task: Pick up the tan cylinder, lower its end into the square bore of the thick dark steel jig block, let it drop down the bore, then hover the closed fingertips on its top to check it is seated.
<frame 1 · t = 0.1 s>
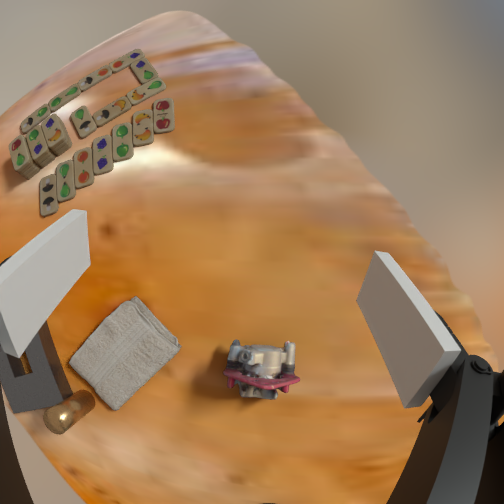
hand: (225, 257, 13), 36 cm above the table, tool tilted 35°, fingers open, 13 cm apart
washcloth: (125, 354, 46), on the table
pile of dominoes: (91, 124, 51), on the table
jig: (29, 358, 42), on the table
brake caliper: (258, 366, 47), on the table
tan cylinder: (85, 400, 43), on the table
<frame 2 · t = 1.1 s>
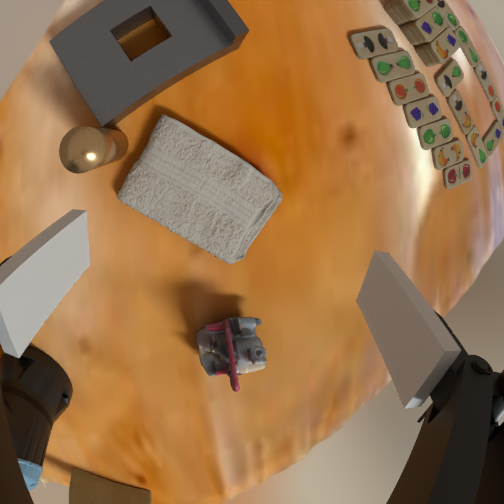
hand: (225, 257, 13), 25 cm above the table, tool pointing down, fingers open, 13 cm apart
washcloth: (200, 190, 37), on the table
pile of dominoes: (446, 86, 38), on the table
jig: (144, 42, 28), on the table
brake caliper: (228, 336, 45), on the table
tan cylinder: (112, 145, 32), on the table
cheese: (109, 482, 57), on the table
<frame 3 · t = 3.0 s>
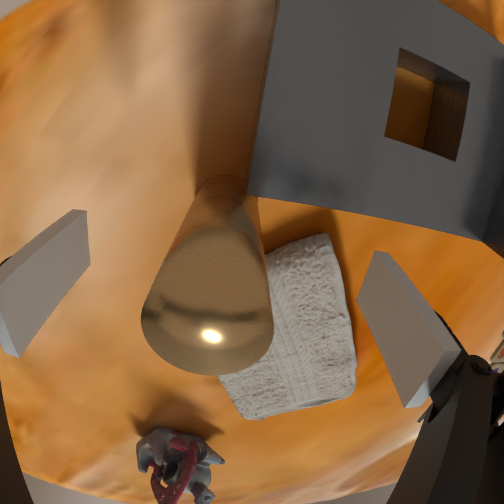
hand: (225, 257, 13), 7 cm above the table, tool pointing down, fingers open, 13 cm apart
washcloth: (277, 336, 26), on the table
jig: (399, 104, 17), on the table
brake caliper: (178, 441, 33), on the table
tan cylinder: (226, 205, 20), on the table
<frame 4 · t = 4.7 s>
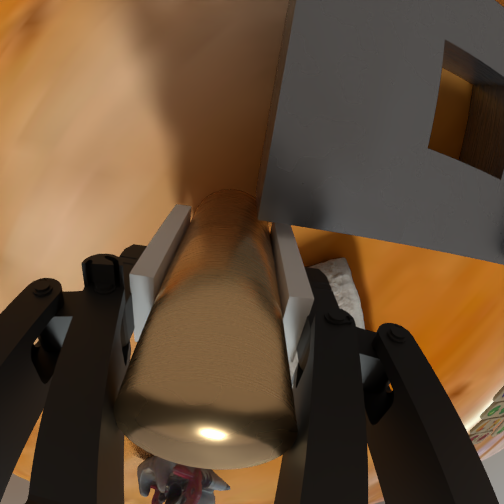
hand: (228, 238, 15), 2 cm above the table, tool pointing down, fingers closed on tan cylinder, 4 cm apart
washcloth: (287, 367, 22), on the table
jig: (435, 107, 13), on the table
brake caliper: (181, 464, 31), on the table
tan cylinder: (230, 225, 16), on the table, touching gripper
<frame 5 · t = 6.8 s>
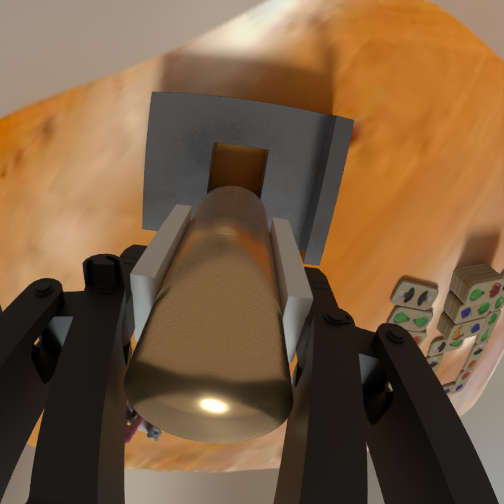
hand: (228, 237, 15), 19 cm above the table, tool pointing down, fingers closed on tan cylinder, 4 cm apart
pile of dominoes: (438, 346, 46), on the table
jig: (238, 165, 32), on the table
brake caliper: (142, 394, 49), on the table
tan cylinder: (231, 220, 17), point 16 cm above the table, touching gripper
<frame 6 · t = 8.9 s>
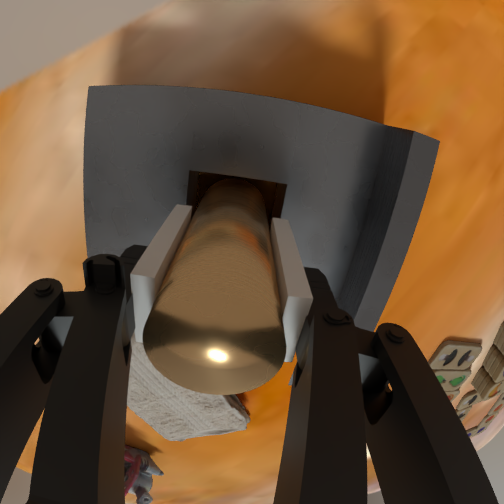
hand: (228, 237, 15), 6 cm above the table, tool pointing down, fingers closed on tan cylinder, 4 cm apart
washcloth: (171, 380, 30), on the table
pile of dominoes: (468, 397, 35), on the table
jig: (234, 201, 20), on the table
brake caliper: (130, 452, 38), on the table
tan cylinder: (232, 209, 19), point 2 cm above the table, touching gripper
when the fingers open (6 cm above the table, at t = 9.0 s): tan cylinder drops 2 cm, resting in jig.
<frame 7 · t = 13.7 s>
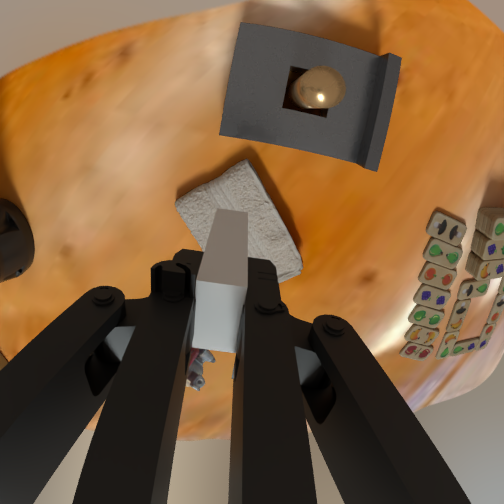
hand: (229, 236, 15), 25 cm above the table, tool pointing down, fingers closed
washcloth: (242, 231, 43), on the table
pile of dominoes: (466, 291, 48), on the table
jig: (303, 93, 34), on the table
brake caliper: (183, 345, 53), on the table
tan cylinder: (303, 93, 34), resting in jig
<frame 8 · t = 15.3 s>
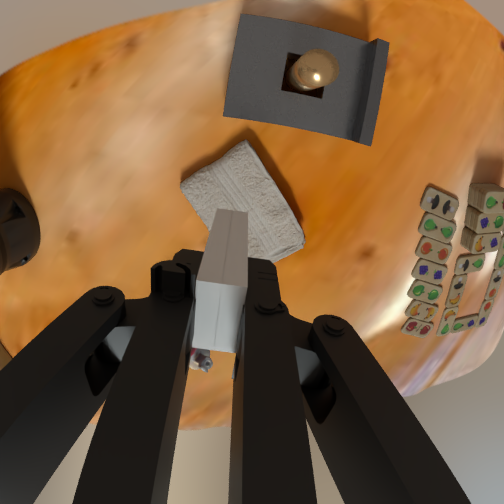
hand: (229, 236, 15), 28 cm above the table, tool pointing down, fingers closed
washcloth: (245, 209, 45), on the table
pile of dominoes: (462, 266, 50), on the table
jig: (300, 78, 36), on the table
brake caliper: (189, 329, 54), on the table
tan cylinder: (300, 78, 36), resting in jig
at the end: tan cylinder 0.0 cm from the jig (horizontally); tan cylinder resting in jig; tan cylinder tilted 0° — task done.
